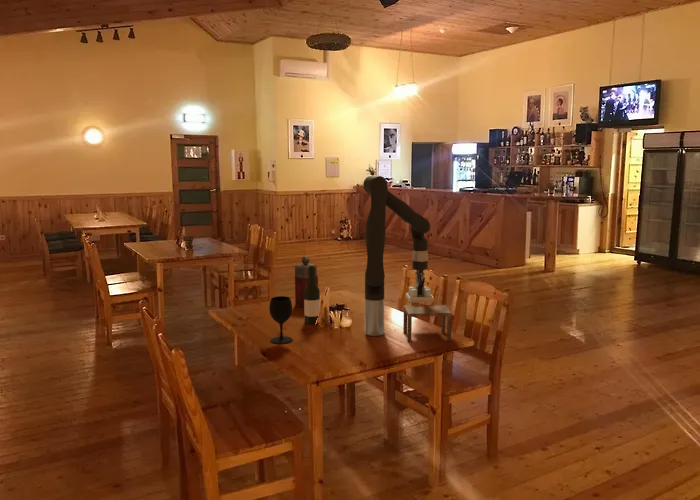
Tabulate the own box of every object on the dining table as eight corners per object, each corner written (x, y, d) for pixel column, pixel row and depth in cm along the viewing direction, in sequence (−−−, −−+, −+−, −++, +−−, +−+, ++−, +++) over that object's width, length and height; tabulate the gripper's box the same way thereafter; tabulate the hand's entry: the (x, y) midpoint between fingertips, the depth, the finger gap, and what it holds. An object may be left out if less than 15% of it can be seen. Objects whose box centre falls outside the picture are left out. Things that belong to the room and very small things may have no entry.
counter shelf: (407, 342, 266) (408, 313, 264) (403, 332, 280) (403, 305, 278) (450, 341, 267) (451, 312, 265) (444, 331, 281) (445, 304, 279)
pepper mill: (320, 303, 333) (319, 255, 328) (306, 307, 325) (305, 258, 320) (308, 301, 339) (308, 254, 334) (295, 305, 330) (294, 256, 326)
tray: (409, 302, 281) (409, 288, 279) (405, 297, 290) (406, 283, 289) (433, 302, 282) (434, 288, 280) (429, 297, 291) (429, 283, 290)
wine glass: (274, 345, 262) (273, 302, 259) (267, 338, 271) (265, 297, 268) (296, 341, 267) (295, 299, 263) (287, 335, 276) (287, 294, 273)
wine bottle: (301, 323, 295) (300, 265, 290) (308, 319, 303) (307, 262, 298) (316, 325, 292) (315, 266, 287) (323, 320, 300) (322, 263, 294)
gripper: (410, 257, 289) (409, 290, 292) (415, 262, 276) (414, 297, 279) (424, 256, 290) (424, 290, 292) (430, 261, 276) (429, 297, 279)
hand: (419, 293), depth 285 cm, fingers closed on tray, 1 cm apart
